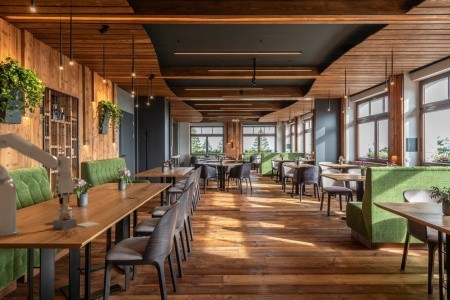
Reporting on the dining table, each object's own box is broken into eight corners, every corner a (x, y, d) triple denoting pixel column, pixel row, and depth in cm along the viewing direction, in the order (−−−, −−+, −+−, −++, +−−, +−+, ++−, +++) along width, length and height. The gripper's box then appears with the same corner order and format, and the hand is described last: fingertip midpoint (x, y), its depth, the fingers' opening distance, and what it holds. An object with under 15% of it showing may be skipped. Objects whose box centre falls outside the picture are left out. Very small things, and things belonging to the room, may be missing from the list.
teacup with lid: (57, 223, 242) (57, 206, 242) (58, 220, 251) (58, 204, 251) (76, 222, 247) (76, 205, 247) (77, 219, 255) (76, 203, 255)
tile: (86, 227, 230) (86, 226, 230) (76, 225, 235) (76, 224, 235) (99, 224, 239) (99, 223, 239) (89, 222, 244) (89, 221, 244)
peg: (63, 213, 227) (63, 194, 227) (58, 212, 229) (58, 193, 229) (69, 212, 231) (69, 193, 231) (65, 211, 233) (65, 192, 234)
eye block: (62, 229, 224) (62, 222, 224) (53, 228, 229) (53, 220, 229) (76, 226, 232) (76, 219, 232) (67, 225, 238) (67, 217, 237)
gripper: (55, 176, 221) (55, 206, 221) (79, 174, 235) (78, 202, 235) (48, 175, 225) (48, 204, 225) (72, 174, 239) (71, 201, 239)
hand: (64, 203), depth 230 cm, fingers closed on peg, 3 cm apart
